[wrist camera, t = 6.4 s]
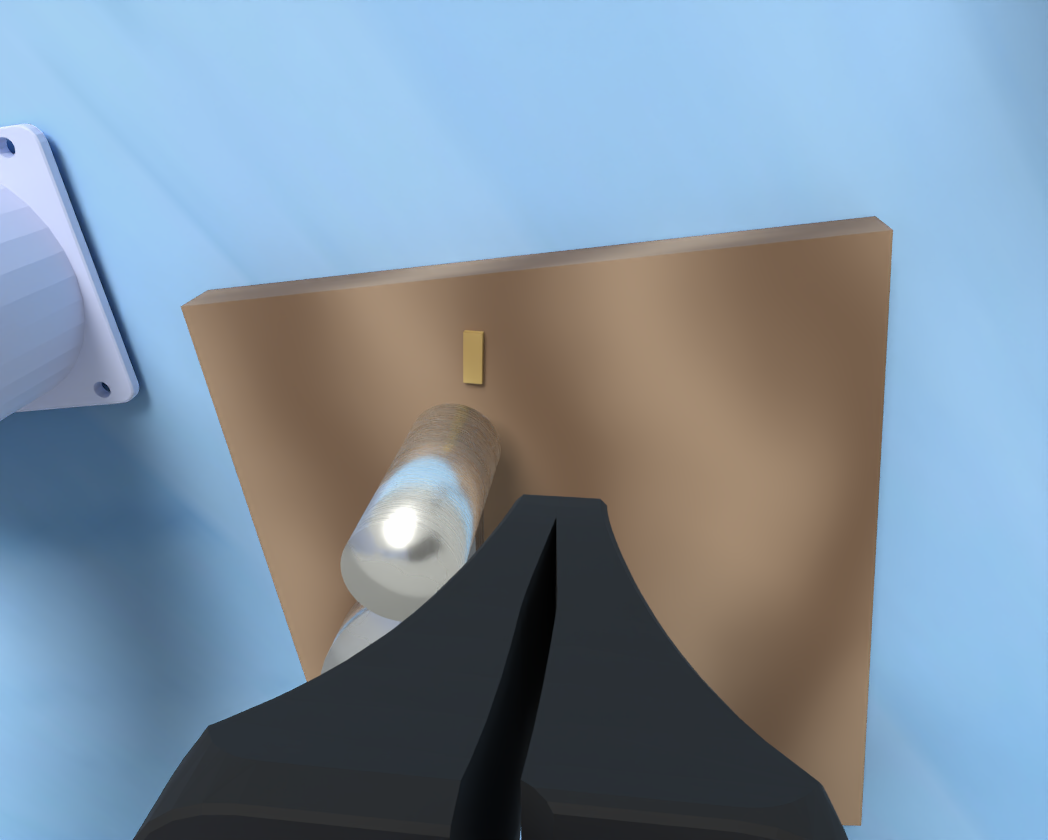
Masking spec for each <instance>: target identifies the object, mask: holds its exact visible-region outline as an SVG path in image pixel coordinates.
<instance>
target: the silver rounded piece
mask: <svg viewBox="0 0 1048 840" xmlns="http://www.w3.org/2000/svg"><path fill="white" fill-rule="evenodd" d="M500 452H501V445H500V439H499V436H498V433H497V431H496V429H495V428H494V426H493V425H492V423H491V422H490V421H489V420H488V419H487V418H486V417H485V416H484V415H483V414H481V413H480V412H478V411H477V410H475V409H473V408H470V407H468V406H465V405H460V404H441V405H437V406H434V407H432V408H430V409H428V410H426V411H425V412H424V413H422V414H421V415H420V416H419V417H418V418H417V420H416V421H415V423H414V425H413V426H412V428H411V430H410V432H409V433H408V435H407V437H406V439H405V441H404V442H403V444H402V446H401V448H400V450H399V451H398V453H397V455H396V457H395V458H394V460H393V462H392V464H391V466H390V467H389V469H388V471H387V473H386V474H385V476H384V478H383V480H382V482H381V483H380V485H379V487H378V489H377V490H376V492H375V494H374V496H373V498H372V499H371V501H370V503H369V505H368V507H367V508H366V510H365V512H364V514H363V515H362V517H361V519H360V521H359V523H358V524H357V526H356V528H355V530H354V531H353V533H352V535H351V537H350V539H349V540H348V542H347V544H346V546H345V548H344V550H343V553H342V556H341V573H342V577H343V580H344V583H345V585H346V587H347V589H348V590H349V591H350V593H351V594H352V596H353V597H354V598H355V599H356V600H357V601H356V603H355V604H354V605H353V607H352V608H351V609H350V611H349V612H348V614H347V615H346V617H345V619H344V621H343V623H342V625H341V627H340V629H339V631H338V633H337V635H336V637H335V640H334V642H333V644H332V646H331V648H330V650H329V652H328V654H327V656H326V658H325V660H324V664H323V667H322V670H321V674H323V673H325V672H327V671H328V670H330V669H332V668H334V667H336V666H337V665H339V664H341V663H343V662H344V661H346V660H348V659H349V658H351V657H352V656H354V655H355V654H357V653H358V652H360V651H361V650H363V649H364V648H366V647H367V646H369V645H370V644H372V643H373V642H375V641H376V640H378V639H379V638H381V637H382V636H384V635H385V634H387V633H388V632H390V631H391V630H392V629H394V628H395V627H396V626H397V625H399V624H400V623H401V622H402V621H404V620H405V619H406V618H408V617H409V616H410V615H411V614H412V613H414V612H415V611H416V610H417V609H418V608H420V607H421V606H422V605H423V604H424V603H425V602H426V601H428V600H429V599H430V598H431V597H432V596H433V595H434V594H435V593H436V592H437V591H438V590H439V589H440V588H441V587H442V586H443V585H444V584H445V583H446V582H447V581H448V580H449V579H450V578H451V577H452V576H453V575H455V574H456V573H457V572H458V571H459V570H460V569H461V568H462V566H463V565H464V564H465V563H466V562H467V561H468V560H469V559H470V558H471V557H472V555H473V554H474V553H475V552H476V551H477V550H478V549H479V547H480V546H481V545H482V544H483V543H484V509H483V508H484V505H485V502H486V499H487V496H488V493H489V490H490V486H491V483H492V480H493V477H494V474H495V471H496V468H497V464H498V461H499V458H500Z"/></svg>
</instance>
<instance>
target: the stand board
mask: <svg viewBox="0 0 1048 840" xmlns="http://www.w3.org/2000/svg"><path fill="white" fill-rule="evenodd" d="M892 236H893V230H892V229H891V228H890V227H888V226H887V225H886V224H885V223H883V222H882V221H881V220H879V219H878V218H877V217H876V216H873V217H864V218H855V219H846V220H837V221H828V222H819V223H810V224H801V225H792V226H783V227H774V228H765V229H756V230H747V231H738V232H729V233H720V234H711V235H702V236H693V237H684V238H675V239H666V240H657V241H648V242H639V243H630V244H621V245H612V246H603V247H594V248H585V249H576V250H567V251H558V252H549V253H539V254H530V255H521V256H512V257H503V258H494V259H485V260H476V261H467V262H458V263H449V264H440V265H431V266H422V267H413V268H404V269H395V270H386V271H377V272H368V273H359V274H350V275H341V276H332V277H323V278H314V279H305V280H296V281H287V282H278V283H269V284H260V285H251V286H242V287H233V288H224V289H215V290H207V291H206V292H204V293H202V294H201V295H199V296H197V297H196V298H194V299H192V300H191V301H189V302H188V303H186V304H184V305H183V306H181V309H182V312H183V315H184V318H185V321H186V323H187V326H188V329H189V332H190V335H191V338H192V341H193V344H194V347H195V350H196V353H197V356H198V359H199V362H200V365H201V368H202V371H203V374H204V377H205V380H206V383H207V386H208V389H209V392H210V395H211V398H212V401H213V404H214V407H215V410H216V413H217V416H218V419H219V422H220V425H221V428H222V431H223V434H224V437H225V439H226V442H227V445H228V448H229V451H230V454H231V457H232V460H233V463H234V466H235V469H236V472H237V475H238V478H239V481H240V484H241V487H242V490H243V493H244V496H245V499H246V502H247V505H248V508H249V511H250V514H251V517H252V520H253V523H254V526H255V529H256V532H257V535H258V538H259V541H260V544H261V547H262V550H263V553H264V556H265V558H266V561H267V564H268V567H269V570H270V573H271V576H272V579H273V582H274V585H275V588H276V591H277V594H278V597H279V600H280V603H281V606H282V609H283V612H284V615H285V618H286V621H287V624H288V627H289V630H290V633H291V636H292V639H293V642H294V645H295V648H296V651H297V654H298V657H299V660H300V663H301V666H302V669H303V672H304V674H305V677H306V680H307V682H308V681H310V680H312V679H314V678H316V677H318V676H320V675H321V670H322V667H323V664H324V660H325V658H326V656H327V654H328V652H329V650H330V648H331V646H332V644H333V642H334V640H335V637H336V635H337V633H338V631H339V629H340V627H341V625H342V623H343V621H344V619H345V617H346V615H347V614H348V612H349V611H350V609H351V608H352V607H353V605H354V604H355V603H356V601H357V600H356V599H355V598H354V597H353V596H352V594H351V593H350V591H349V590H348V589H347V587H346V585H345V583H344V580H343V577H342V573H341V556H342V553H343V550H344V548H345V546H346V544H347V542H348V540H349V539H350V537H351V535H352V533H353V531H354V530H355V528H356V526H357V524H358V523H359V521H360V519H361V517H362V515H363V514H364V512H365V510H366V508H367V507H368V505H369V503H370V501H371V499H372V498H373V496H374V494H375V492H376V490H377V489H378V487H379V485H380V483H381V482H382V480H383V478H384V476H385V474H386V473H387V471H388V469H389V467H390V466H391V464H392V462H393V460H394V458H395V457H396V455H397V453H398V451H399V450H400V448H401V446H402V444H403V442H404V441H405V439H406V437H407V435H408V433H409V432H410V430H411V428H412V426H413V425H414V423H415V421H416V420H417V418H418V417H419V416H420V415H421V414H422V413H424V412H425V411H426V410H428V409H430V408H432V407H434V406H437V405H441V404H460V405H465V406H468V407H470V408H473V409H475V410H477V411H478V412H480V413H481V414H483V415H484V416H485V417H486V418H487V419H488V420H489V421H490V422H491V423H492V425H493V426H494V428H495V429H496V431H497V433H498V436H499V439H500V445H501V452H500V458H499V461H498V464H497V468H496V471H495V474H494V477H493V480H492V483H491V486H490V490H489V493H488V496H487V499H486V502H485V505H484V508H483V509H484V542H485V541H486V540H487V538H488V537H489V536H490V535H491V533H492V532H493V531H494V530H495V528H496V527H497V526H498V525H499V523H500V522H501V521H502V520H503V518H504V517H505V516H506V514H507V513H508V511H509V510H510V509H511V507H512V506H513V504H514V503H515V501H516V500H517V499H518V498H520V497H521V496H522V495H523V494H527V495H544V496H562V497H580V498H597V499H601V500H602V501H603V502H604V503H605V504H606V505H607V511H608V516H609V521H610V524H611V527H612V531H613V533H614V536H615V539H616V541H617V544H618V547H619V549H620V551H621V554H622V556H623V558H624V560H625V562H626V564H627V566H628V568H629V571H630V573H631V575H632V577H633V579H634V581H635V583H636V584H637V586H638V588H639V590H640V592H641V594H642V595H643V597H644V599H645V600H646V602H647V604H648V605H649V607H650V609H651V610H652V612H653V614H654V615H655V617H656V618H657V620H658V621H659V623H660V625H661V626H662V628H663V629H664V630H665V632H666V633H667V635H668V636H669V638H670V639H671V640H672V642H673V643H674V644H675V646H676V647H677V648H678V650H679V651H680V652H681V654H682V655H683V656H684V657H685V659H686V660H687V661H688V662H689V664H690V665H691V666H692V667H693V668H694V670H695V671H696V672H697V673H698V675H699V676H700V677H701V678H702V679H703V680H704V681H705V682H706V683H707V684H708V686H709V687H710V688H711V689H712V690H713V691H714V692H715V693H716V694H717V695H718V696H719V697H720V698H721V699H722V700H723V701H724V702H725V703H726V704H727V705H728V706H729V707H730V709H731V710H732V711H733V712H734V713H735V714H736V715H737V716H738V717H739V718H740V719H742V720H743V721H744V722H745V723H746V724H747V725H748V726H749V727H750V728H752V729H753V730H754V731H755V732H756V733H757V734H758V735H759V736H760V737H762V738H763V739H764V740H765V741H766V742H768V743H769V744H770V745H772V746H773V747H774V748H776V749H777V750H778V751H780V752H781V753H782V754H783V755H785V756H786V757H787V758H789V759H790V760H791V761H793V762H794V763H795V764H797V765H798V766H799V767H800V768H802V769H803V770H804V771H806V772H807V773H808V774H810V775H811V776H812V777H814V778H815V779H816V780H817V781H819V782H820V783H821V784H822V786H823V787H824V789H825V791H826V793H827V795H828V797H829V799H830V801H831V803H832V805H833V807H834V809H835V811H836V813H837V815H838V817H839V819H840V822H841V824H842V825H859V826H861V817H862V798H863V780H864V761H865V742H866V723H867V705H868V686H869V667H870V648H871V630H872V611H873V592H874V574H875V555H876V536H877V517H878V499H879V480H880V461H881V442H882V424H883V405H884V386H885V367H886V349H887V330H888V311H889V292H890V274H891V255H892Z"/></svg>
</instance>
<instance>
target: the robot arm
mask: <svg viewBox="0 0 1048 840" xmlns="http://www.w3.org/2000/svg"><path fill="white" fill-rule="evenodd" d="M7 139H9V140H10V141H11V142H12V143H13V145H14V146H15V154H13V153H11V152H10V150H9V149H8V147H7V142H6V141H7ZM102 382H103V383H105V384H106V385H108V387H109V388H110V392H108V391H106V390H105V389H104V388H103V386H102ZM138 392H139V384H138V380H137V378H136V375H135V372H134V370H133V367H132V364H131V362H130V359H129V356H128V354H127V351H126V348H125V346H124V343H123V340H122V338H121V335H120V332H119V330H118V327H117V324H116V322H115V319H114V316H113V314H112V311H111V308H110V306H109V303H108V300H107V298H106V295H105V292H104V290H103V287H102V284H101V282H100V279H99V276H98V274H97V271H96V268H95V266H94V263H93V260H92V258H91V255H90V252H89V250H88V247H87V244H86V242H85V239H84V236H83V234H82V231H81V228H80V226H79V223H78V220H77V218H76V215H75V212H74V210H73V207H72V204H71V202H70V199H69V196H68V194H67V191H66V188H65V186H64V183H63V180H62V178H61V175H60V172H59V170H58V167H57V164H56V162H55V159H54V156H53V154H52V151H51V148H50V146H49V143H48V141H47V139H46V137H45V135H44V133H43V132H41V131H40V130H39V129H38V128H37V127H35V126H33V125H31V124H18V125H12V126H5V127H0V421H1V420H3V419H4V418H6V417H7V416H9V415H11V414H12V413H14V412H24V411H36V410H47V409H59V408H71V407H82V406H94V405H106V404H117V403H125V402H128V401H130V400H131V399H133V398H134V397H135V396H136V395H137V394H138ZM520 831H521V840H848V838H847V836H846V833H845V831H844V829H843V826H842V824H841V822H840V819H839V817H838V815H837V813H836V811H835V809H834V807H833V805H832V803H831V801H830V799H829V797H828V795H827V793H826V791H825V789H824V787H823V786H822V784H821V783H820V782H819V781H817V780H816V779H815V778H814V777H812V776H811V775H810V774H808V773H807V772H806V771H804V770H803V769H802V768H800V767H799V766H798V765H797V764H795V763H794V762H793V761H791V760H790V759H789V758H787V757H786V756H785V755H783V754H782V753H781V752H780V751H778V750H777V749H776V748H774V747H773V746H772V745H770V744H769V743H768V742H766V741H765V740H764V739H763V738H762V737H760V736H759V735H758V734H757V733H756V732H755V731H754V730H753V729H752V728H750V727H749V726H748V725H747V724H746V723H745V722H744V721H743V720H742V719H740V718H739V717H738V716H737V715H736V714H735V713H734V712H733V711H732V710H731V709H730V707H729V706H728V705H727V704H726V703H725V702H724V701H723V700H722V699H721V698H720V697H719V696H718V695H717V694H716V693H715V692H714V691H713V690H712V689H711V688H710V687H709V686H708V684H707V683H706V682H705V681H704V680H703V679H702V678H701V677H700V676H699V675H698V673H697V672H696V671H695V670H694V668H693V667H692V666H691V665H690V664H689V662H688V661H687V660H686V659H685V657H684V656H683V655H682V654H681V652H680V651H679V650H678V648H677V647H676V646H675V644H674V643H673V642H672V640H671V639H670V638H669V636H668V635H667V633H666V632H665V630H664V629H663V628H662V626H661V625H660V623H659V621H658V620H657V618H656V617H655V615H654V614H653V612H652V610H651V609H650V607H649V605H648V604H647V602H646V600H645V599H644V597H643V595H642V594H641V592H640V590H639V588H638V586H637V584H636V583H635V581H634V579H633V577H632V575H631V573H630V571H629V568H628V566H627V564H626V562H625V560H624V558H623V556H622V554H621V551H620V549H619V547H618V544H617V541H616V539H615V536H614V533H613V531H612V527H611V524H610V521H609V516H608V511H607V505H606V504H605V503H604V502H603V501H602V500H601V499H597V498H580V497H562V496H544V495H527V494H523V495H522V496H521V497H520V498H518V499H517V500H516V501H515V503H514V504H513V506H512V507H511V509H510V510H509V511H508V513H507V514H506V516H505V517H504V518H503V520H502V521H501V522H500V523H499V525H498V526H497V527H496V528H495V530H494V531H493V532H492V533H491V535H490V536H489V537H488V538H487V540H486V541H485V542H484V543H483V544H482V545H481V546H480V547H479V549H478V550H477V551H476V552H475V553H474V554H473V555H472V557H471V558H470V559H469V560H468V561H467V562H466V563H465V564H464V565H463V566H462V568H461V569H460V570H459V571H458V572H457V573H456V574H455V575H453V576H452V577H451V578H450V579H449V580H448V581H447V582H446V583H445V584H444V585H443V586H442V587H441V588H440V589H439V590H438V591H437V592H436V593H435V594H434V595H433V596H432V597H431V598H430V599H429V600H428V601H426V602H425V603H424V604H423V605H422V606H421V607H420V608H418V609H417V610H416V611H415V612H414V613H412V614H411V615H410V616H409V617H408V618H406V619H405V620H404V621H402V622H401V623H400V624H399V625H397V626H396V627H395V628H394V629H392V630H391V631H390V632H388V633H387V634H385V635H384V636H382V637H381V638H379V639H378V640H376V641H375V642H373V643H372V644H370V645H369V646H367V647H366V648H364V649H363V650H361V651H360V652H358V653H357V654H355V655H354V656H352V657H351V658H349V659H348V660H346V661H344V662H343V663H341V664H339V665H337V666H336V667H334V668H332V669H330V670H328V671H327V672H325V673H323V674H321V675H320V676H318V677H316V678H314V679H312V680H310V681H308V682H306V683H304V684H302V685H300V686H299V687H297V688H295V689H293V690H291V691H289V692H287V693H284V694H282V695H280V696H278V697H276V698H274V699H272V700H269V701H267V702H265V703H262V704H260V705H258V706H255V707H253V708H251V709H248V710H246V711H244V712H241V713H239V714H237V715H234V716H232V717H230V718H227V719H225V720H222V721H220V722H217V723H215V724H212V725H209V726H208V727H207V728H206V730H205V731H204V732H203V734H202V735H201V737H200V738H199V739H198V741H197V742H196V743H195V744H194V746H193V747H192V748H191V750H190V751H189V752H188V754H187V755H186V756H185V757H184V759H183V760H182V762H181V763H180V765H179V766H178V768H177V769H176V771H175V772H174V774H173V775H172V777H171V778H170V780H169V782H168V783H167V785H166V787H165V788H164V790H163V791H162V793H161V795H160V796H159V798H158V800H157V801H156V803H155V805H154V806H153V808H152V809H151V811H150V813H149V814H148V816H147V818H146V819H145V821H144V823H143V824H142V826H141V827H140V829H139V831H138V832H137V834H136V836H135V837H134V839H133V840H519V839H520Z"/></svg>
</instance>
